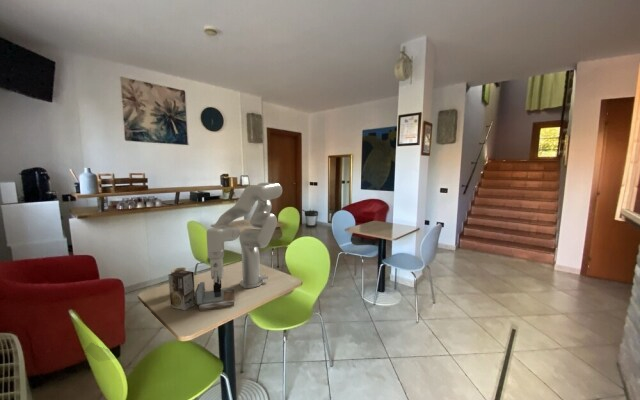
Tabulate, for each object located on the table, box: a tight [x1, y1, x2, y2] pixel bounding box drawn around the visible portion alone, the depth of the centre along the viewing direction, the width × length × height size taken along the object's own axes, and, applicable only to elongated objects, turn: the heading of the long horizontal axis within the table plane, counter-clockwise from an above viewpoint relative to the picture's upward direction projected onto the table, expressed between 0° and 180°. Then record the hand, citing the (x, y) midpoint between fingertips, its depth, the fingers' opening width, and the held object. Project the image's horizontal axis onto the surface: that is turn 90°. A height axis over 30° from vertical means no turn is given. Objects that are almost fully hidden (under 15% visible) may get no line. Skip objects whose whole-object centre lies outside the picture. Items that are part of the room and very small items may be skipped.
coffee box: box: [168, 270, 196, 311], centre depth 123 cm, size 9×6×16 cm
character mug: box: [170, 266, 190, 274], centre depth 135 cm, size 11×7×13 cm, turn 153°
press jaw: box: [194, 277, 224, 306], centre depth 126 cm, size 12×11×12 cm
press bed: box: [198, 287, 235, 312], centre depth 128 cm, size 15×15×2 cm
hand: (217, 289), depth 127 cm, fingers closed on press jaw, 3 cm apart
